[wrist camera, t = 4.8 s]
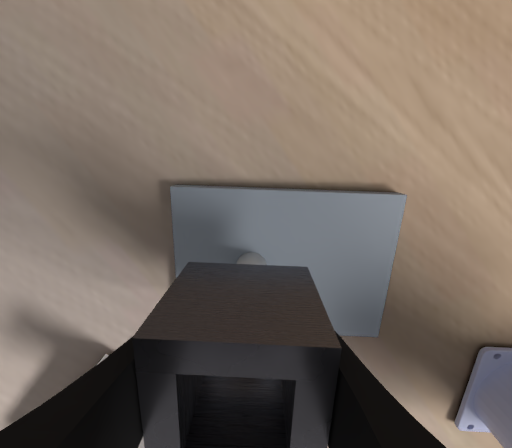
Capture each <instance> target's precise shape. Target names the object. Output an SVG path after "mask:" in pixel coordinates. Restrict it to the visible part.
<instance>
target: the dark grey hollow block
mask: <svg viewBox="0 0 512 448" xmlns="http://www.w3.org/2000/svg"><path fill="white" fill-rule="evenodd" d="M132 342H133V350H134V359H135V368H136V377H137V386H138V394H139V403H140V412H141V421H142V430H143V438H144V447H145V448H327V446H328V440H329V433H330V426H331V419H332V412H333V405H334V398H335V392H336V385H337V378H338V371H339V364H340V357H341V350H342V347H341V345H340V343H339V340H338V338H337V336H336V333H335V331H334V328H333V326H332V324H331V321H330V319H329V317H328V314H327V312H326V309H325V307H324V305H323V302H322V300H321V298H320V295H319V293H318V290H317V288H316V286H315V283H314V281H313V279H312V276H311V274H310V271H309V269H308V267H300V266H276V265H252V264H228V263H205V262H188V263H187V265H186V266H185V267H184V269H183V270H182V271H181V273H180V274H179V275H178V277H177V278H176V279H175V281H174V282H173V283H172V285H171V286H170V288H169V289H168V290H167V292H166V293H165V294H164V296H163V297H162V298H161V300H160V301H159V302H158V304H157V305H156V306H155V308H154V309H153V311H152V312H151V313H150V315H149V316H148V317H147V319H146V320H145V321H144V323H143V324H142V325H141V327H140V328H139V329H138V331H137V332H136V334H135V335H134V336H133V338H132Z"/></svg>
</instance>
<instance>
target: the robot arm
mask: <svg viewBox="0 0 512 448" xmlns="http://www.w3.org/2000/svg"><path fill="white" fill-rule="evenodd" d="M334 331H335V330H334ZM335 333H336V336H337V338H338V340H339V343H340V345H341V347H342V350H341V357H340V364H339V371H338V378H337V385H336V392H335V398H334V405H333V412H332V419H331V426H330V433H329V440H328V447H329V448H446V447H445V446H444V445H443V444H442V443H441V442H440V441H439V440H437V439H436V438H435V437H434V436H433V435H432V434H431V433H430V432H429V431H428V430H426V429H425V428H424V427H423V426H422V425H421V424H420V423H419V422H418V421H417V420H416V419H415V418H414V417H413V416H412V415H411V414H410V413H409V412H408V411H407V410H406V409H405V408H404V407H403V406H402V405H401V404H400V403H399V402H398V401H397V400H396V399H395V398H394V397H393V396H392V395H391V394H390V393H389V392H388V391H387V390H386V389H385V388H384V387H383V385H382V384H381V383H380V382H379V381H378V380H377V379H376V378H375V377H374V375H373V374H372V373H371V372H370V371H369V370H368V369H367V368H366V367H365V365H364V364H363V363H362V362H361V361H360V360H359V358H358V357H357V356H356V355H355V354H354V353H353V351H352V350H351V349H350V348H349V347H348V345H347V344H346V343H345V342H344V341H343V339H342V338H341V337H340V336H339V335H338V334H337V332H336V331H335ZM132 338H133V337H132ZM132 338H130V339H129V340H128V341H127V342H125V343H124V344H123V345H122V346H120V347H119V348H118V349H117V350H115V351H114V352H113V353H112V354H110V355H109V356H108V357H107V358H105V359H104V360H103V361H101V362H100V363H99V364H98V365H96V366H95V367H94V368H92V369H91V370H89V371H88V372H87V373H85V374H84V375H83V376H81V377H80V378H79V379H77V380H76V381H75V382H73V383H72V384H70V385H69V386H68V387H66V388H65V389H64V390H62V391H61V392H59V393H58V394H56V395H55V396H54V397H52V398H51V399H49V400H48V401H46V402H45V403H43V404H42V405H40V406H39V407H37V408H36V409H34V410H33V411H31V412H30V413H28V414H26V415H25V416H23V417H22V418H20V419H19V420H17V421H16V422H14V423H12V424H11V425H9V426H8V427H6V428H4V429H3V430H1V431H0V448H138V447H139V444H140V442H141V440H142V438H143V430H142V421H141V412H140V403H139V394H138V386H137V377H136V368H135V359H134V350H133V342H132ZM455 425H456V427H457V428H458V429H459V430H462V431H476V432H491V433H492V434H493V435H494V437H495V438H496V439H497V440H498V441H499V443H500V444H501V445H502V446H503V448H512V348H503V347H484V348H482V349H480V351H479V353H478V356H477V359H476V362H475V365H474V368H473V371H472V373H471V376H470V379H469V382H468V385H467V388H466V391H465V394H464V396H463V399H462V402H461V405H460V408H459V411H458V414H457V416H456V419H455Z"/></svg>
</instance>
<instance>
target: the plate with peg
mask: <svg viewBox="0 0 512 448" xmlns="http://www.w3.org/2000/svg"><path fill="white" fill-rule="evenodd" d="M170 194H171V209H172V224H173V240H174V255H175V270H176V278H177V277H178V275H179V274H180V273H181V271H182V270H183V269H184V267H185V266H186V265H187V263H188V262H205V263H228V264H252V265H276V266H300V267H308V269H309V271H310V274H311V276H312V279H313V281H314V283H315V286H316V288H317V290H318V293H319V295H320V298H321V300H322V302H323V305H324V307H325V309H326V312H327V314H328V317H329V319H330V321H331V324H332V326H333V328H334V330H335V331H336V332H337V334H338V335H342V336H363V337H378V335H379V330H380V325H381V320H382V315H383V310H384V305H385V300H386V296H387V291H388V286H389V281H390V276H391V271H392V266H393V261H394V256H395V251H396V247H397V242H398V237H399V232H400V227H401V222H402V217H403V212H404V207H405V203H406V198H407V195H405V194H401V193H395V192H368V191H340V190H312V189H284V188H257V187H229V186H201V185H173V186H170Z"/></svg>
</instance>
